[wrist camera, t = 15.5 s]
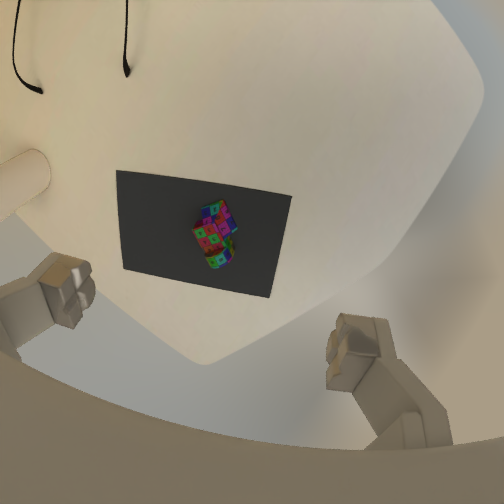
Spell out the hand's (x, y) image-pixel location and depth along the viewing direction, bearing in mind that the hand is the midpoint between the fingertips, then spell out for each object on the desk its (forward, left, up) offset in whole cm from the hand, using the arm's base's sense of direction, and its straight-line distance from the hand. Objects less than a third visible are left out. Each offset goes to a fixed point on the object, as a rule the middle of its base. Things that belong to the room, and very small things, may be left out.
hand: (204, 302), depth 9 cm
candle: (+30, +7, -24) cm, 39 cm away
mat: (+6, +13, -24) cm, 28 cm away
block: (+4, +11, -24) cm, 26 cm away
